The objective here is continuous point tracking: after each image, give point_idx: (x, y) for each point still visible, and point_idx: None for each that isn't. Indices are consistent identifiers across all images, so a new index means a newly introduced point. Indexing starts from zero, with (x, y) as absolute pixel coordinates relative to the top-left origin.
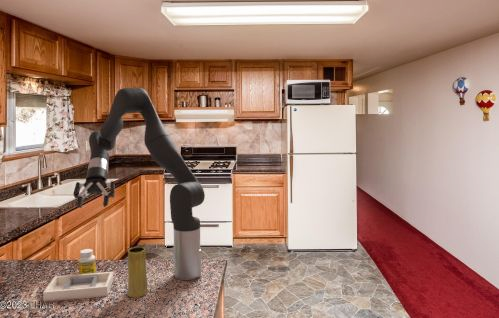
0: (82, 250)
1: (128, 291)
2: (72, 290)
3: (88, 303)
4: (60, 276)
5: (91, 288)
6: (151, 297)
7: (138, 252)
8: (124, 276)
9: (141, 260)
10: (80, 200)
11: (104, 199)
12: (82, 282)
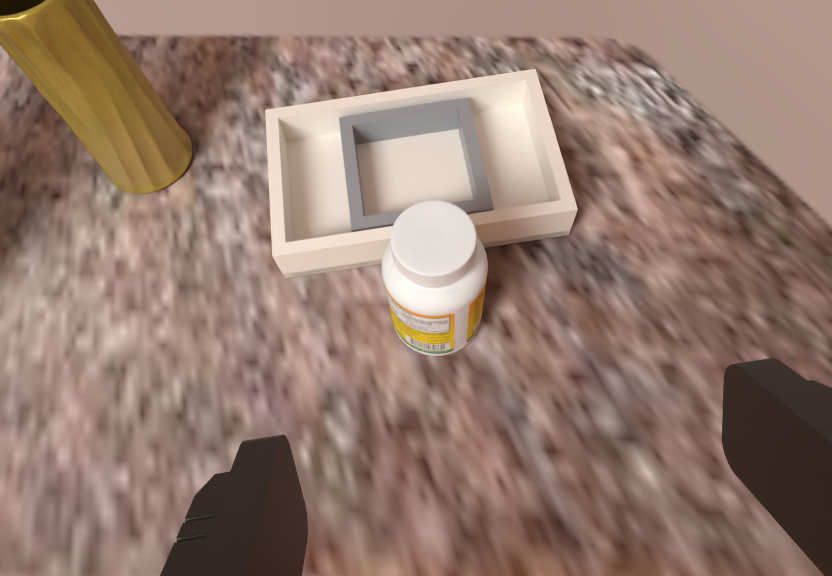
0: (466, 245)
1: (180, 128)
2: (414, 89)
3: (339, 90)
4: (547, 208)
5: (334, 100)
6: None
7: None
8: (233, 318)
9: (28, 5)
10: (817, 412)
11: (244, 506)
12: None
